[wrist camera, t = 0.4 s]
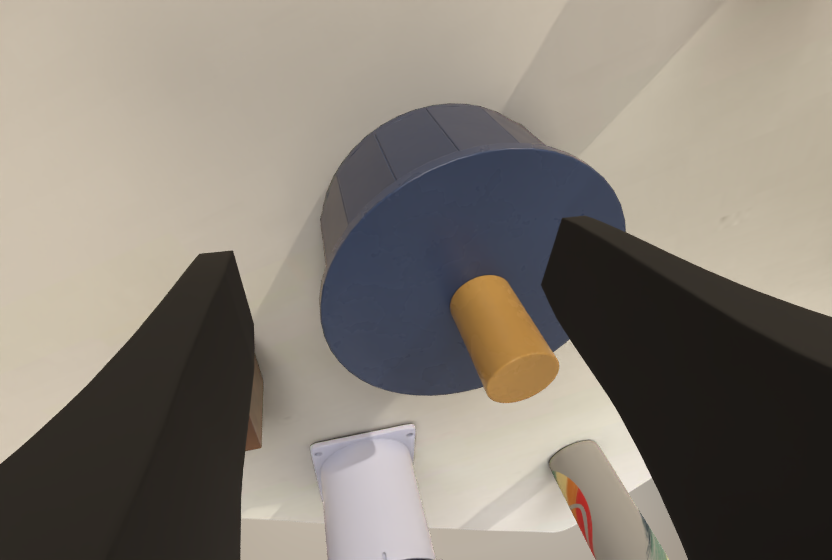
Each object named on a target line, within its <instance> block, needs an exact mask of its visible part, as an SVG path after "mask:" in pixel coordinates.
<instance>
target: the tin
mask: <svg viewBox="0 0 832 560" xmlns="http://www.w3.org/2000/svg"><path fill="white" fill-rule="evenodd" d="M497 143H531V144H537V145H543V146H546V145H545V144H544V143H543V142H541V141H540V140H539V139H538V138H537V137H535V136H534V135H533V134H532V133H531V132H529V131H528V130H527V129H526V128H525V127H524V126H522V125H521V124H519V123H517V122H515V121H512V120H510V119H509V118H507V117H505V116H503V115H501V114H500V113H498V112H495V111H492V110H490V109H487V108H484V107H481V106H474V105H469V104H441V105H432V106H428V107H424V108H420V109H416V110H413V111H410V112H408V113H405V114H403V115H400V116H398V117H396V118H394V119H392V120H390V121H388V122H387V123H385V124H383V125H381V126H380V127H378V128H377V129H376V130H374V131H373V132H372V133H370V134H369V135H367V136H366V137H365V138H364V139H363V140H362V141H361V142H360V143H359V144H358V145H357V146H356V147H355V148H353V150H352V151H351V152H350V153H349V155H348V156H347V157H346V158H345V159H344V161H343V162H342V163H341V165H340V167H339V168H338V170H337V172H336V173H335V175H334V177H333V179H332V181H331V183H330V186H329V188H328V190H327V193H326V197H325V201H324V204H323V211H322V214H321V218H320V221H321V229H322V238H323V246H324V254H325V262H326V264H327V262H328V260H329V257H330V255H331V253H332V251H333V249H334V247H335V245H336V243H337V242H338V240H339V239H340V237H341V236H342V234H343V233H344V231H345V230H346V228H347V227H348V225H349V224H350V223H351V222H352V220H353V219H354V218H355V217H356V216H357V215H358V214H359V212H360V211H361V210H362V209H363V208H364V207H365V206H366V205H367V204H368V203H369V202H370V201H371V200H373V199H374V198H375V197H376V196H377V195H378V194H379V193H380V192H382V191H383V190H384V189H385V188H387V187H388V186H390V185H391V184H392V183H394V182H395V181H397V180H398V179H400V178H401V177H403V176H404V175H406V174H407V173H409V172H411V171H413V170H415V169H417V168H419V167H420V166H422V165H424V164H426V163H428V162H430V161H433V160H435V159H438V158H440V157H443V156H445V155H448V154H451V153H453V152H457V151H461V150H465V149H468V148H472V147H476V146H482V145H489V144H497Z"/></svg>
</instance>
